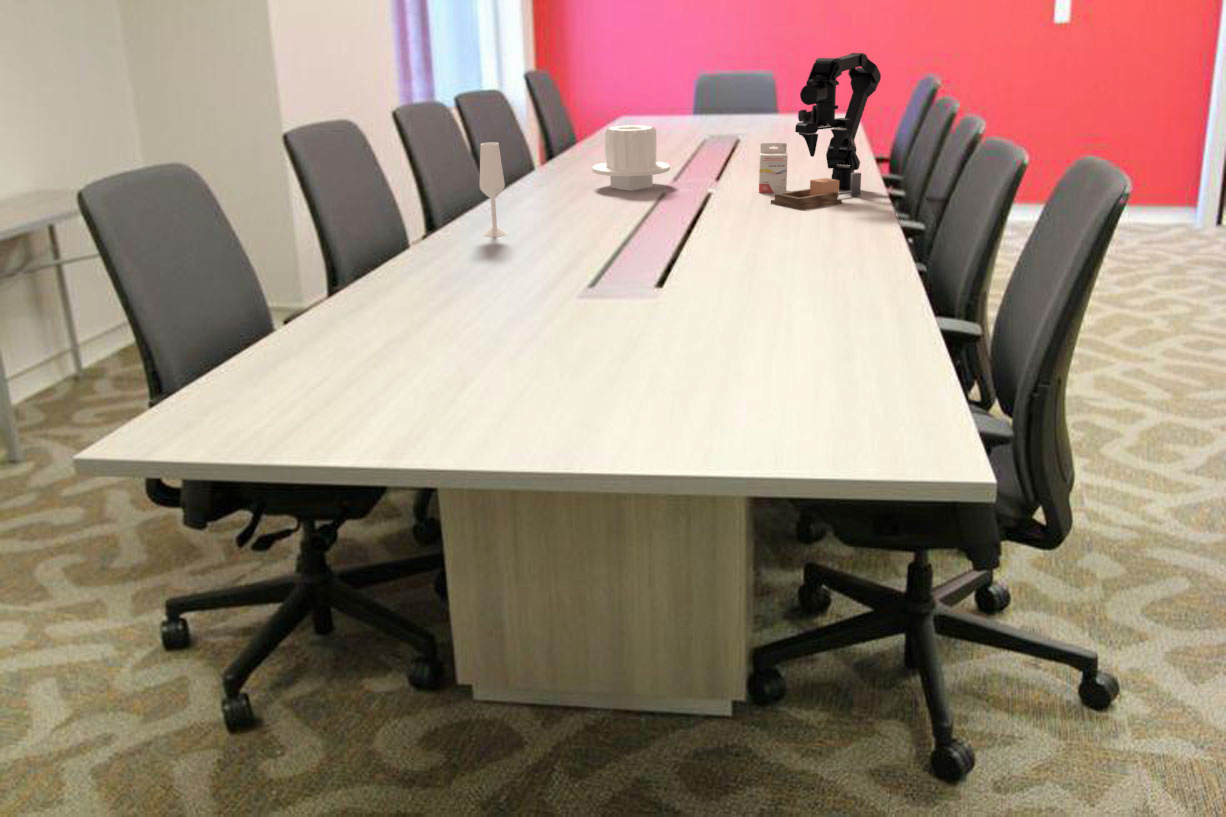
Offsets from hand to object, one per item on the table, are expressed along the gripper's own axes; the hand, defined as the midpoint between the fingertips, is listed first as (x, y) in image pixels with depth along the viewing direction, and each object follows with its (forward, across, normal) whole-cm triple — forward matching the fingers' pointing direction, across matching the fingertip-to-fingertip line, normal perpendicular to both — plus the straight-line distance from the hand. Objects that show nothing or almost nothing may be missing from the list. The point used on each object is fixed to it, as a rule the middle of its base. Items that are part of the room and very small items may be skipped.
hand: (823, 154), depth 355 cm
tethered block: (+12, +1, +8) cm, 14 cm away
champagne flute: (+12, +106, -12) cm, 107 cm away
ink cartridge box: (+12, +8, -14) cm, 20 cm away
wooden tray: (+12, +13, +8) cm, 19 cm away
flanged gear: (+12, +37, -50) cm, 63 cm away
